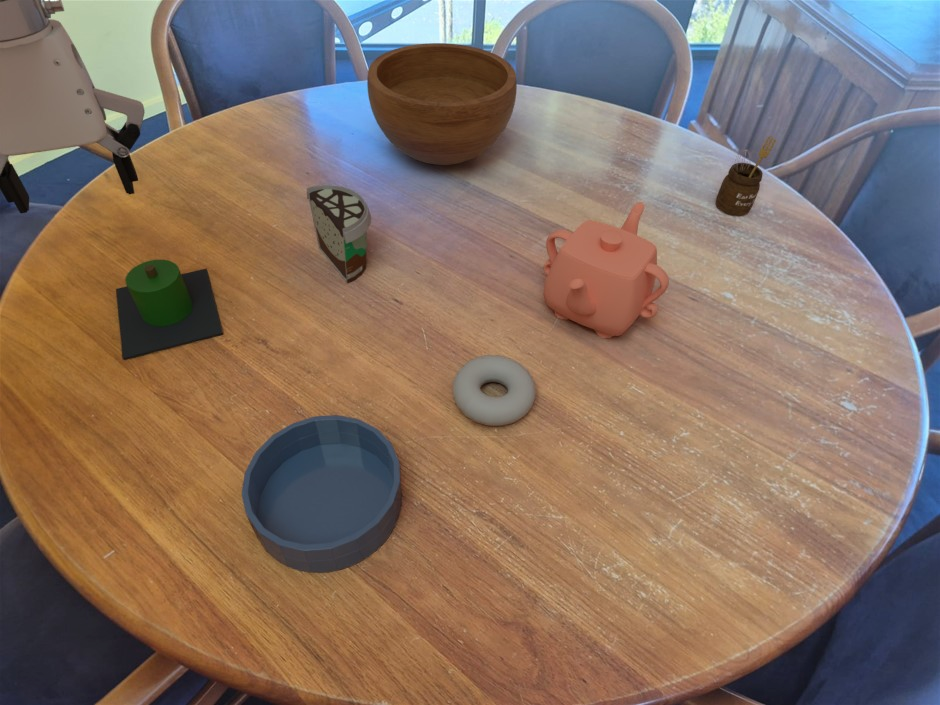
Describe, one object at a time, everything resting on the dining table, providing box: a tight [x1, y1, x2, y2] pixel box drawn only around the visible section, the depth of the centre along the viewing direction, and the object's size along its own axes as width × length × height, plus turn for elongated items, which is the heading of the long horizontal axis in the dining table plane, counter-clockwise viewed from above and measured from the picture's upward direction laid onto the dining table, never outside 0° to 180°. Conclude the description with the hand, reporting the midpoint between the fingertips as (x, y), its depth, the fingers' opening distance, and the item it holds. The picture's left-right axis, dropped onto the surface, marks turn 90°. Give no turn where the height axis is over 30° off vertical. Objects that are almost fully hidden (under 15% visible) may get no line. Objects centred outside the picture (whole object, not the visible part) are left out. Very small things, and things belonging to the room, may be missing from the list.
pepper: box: [125, 258, 193, 326], centre depth 80 cm, size 6×6×7 cm
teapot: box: [542, 201, 670, 339], centre depth 82 cm, size 15×17×13 cm
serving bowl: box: [241, 414, 403, 574], centre depth 63 cm, size 15×15×5 cm
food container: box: [306, 184, 372, 284], centre depth 89 cm, size 12×6×10 cm, turn 34°
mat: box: [115, 268, 224, 361], centre depth 83 cm, size 12×14×1 cm
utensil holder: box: [715, 135, 777, 217], centre depth 101 cm, size 6×6×12 cm
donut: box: [452, 354, 537, 427], centre depth 74 cm, size 10×4×10 cm
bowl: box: [366, 42, 518, 166], centre depth 108 cm, size 25×25×15 cm
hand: (78, 196), depth 63 cm, fingers open, 9 cm apart
